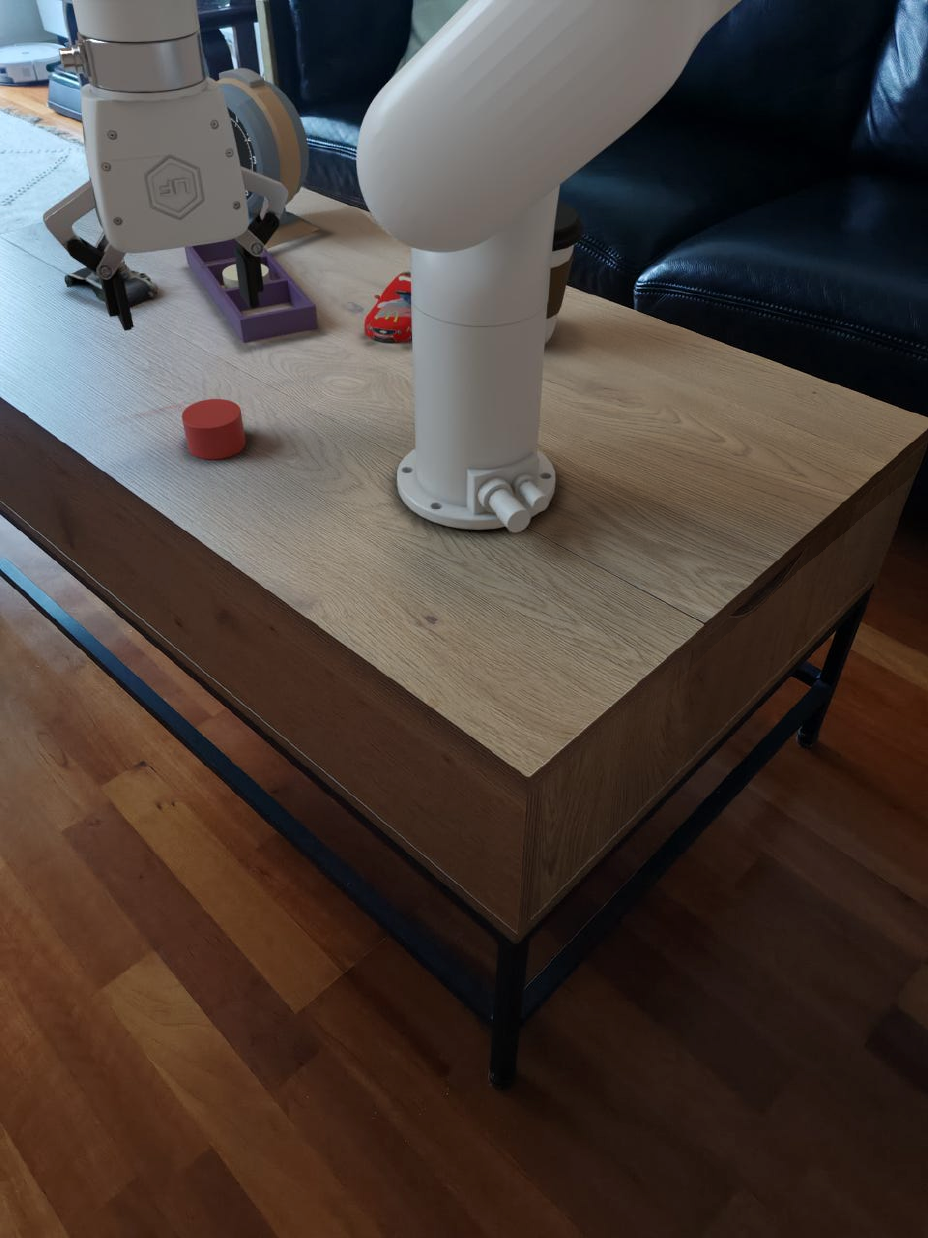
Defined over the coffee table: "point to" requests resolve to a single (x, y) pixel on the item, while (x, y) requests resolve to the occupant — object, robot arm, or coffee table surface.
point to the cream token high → (232, 279)
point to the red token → (214, 429)
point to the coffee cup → (561, 260)
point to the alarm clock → (268, 143)
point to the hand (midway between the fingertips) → (189, 311)
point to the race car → (392, 313)
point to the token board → (273, 294)
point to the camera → (135, 282)
